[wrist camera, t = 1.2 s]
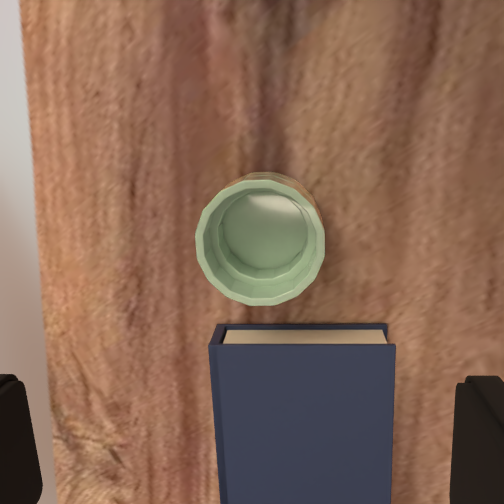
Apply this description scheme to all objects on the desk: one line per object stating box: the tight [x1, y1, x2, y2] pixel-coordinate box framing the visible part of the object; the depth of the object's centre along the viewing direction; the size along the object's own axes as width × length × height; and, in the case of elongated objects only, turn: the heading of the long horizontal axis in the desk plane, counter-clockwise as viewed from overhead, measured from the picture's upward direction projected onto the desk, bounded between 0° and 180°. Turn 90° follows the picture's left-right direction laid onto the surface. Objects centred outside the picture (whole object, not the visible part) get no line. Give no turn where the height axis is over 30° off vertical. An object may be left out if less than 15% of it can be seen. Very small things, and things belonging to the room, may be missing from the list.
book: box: [208, 324, 396, 504], centre depth 32 cm, size 15×11×3 cm
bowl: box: [195, 172, 325, 306], centre depth 28 cm, size 7×7×5 cm
